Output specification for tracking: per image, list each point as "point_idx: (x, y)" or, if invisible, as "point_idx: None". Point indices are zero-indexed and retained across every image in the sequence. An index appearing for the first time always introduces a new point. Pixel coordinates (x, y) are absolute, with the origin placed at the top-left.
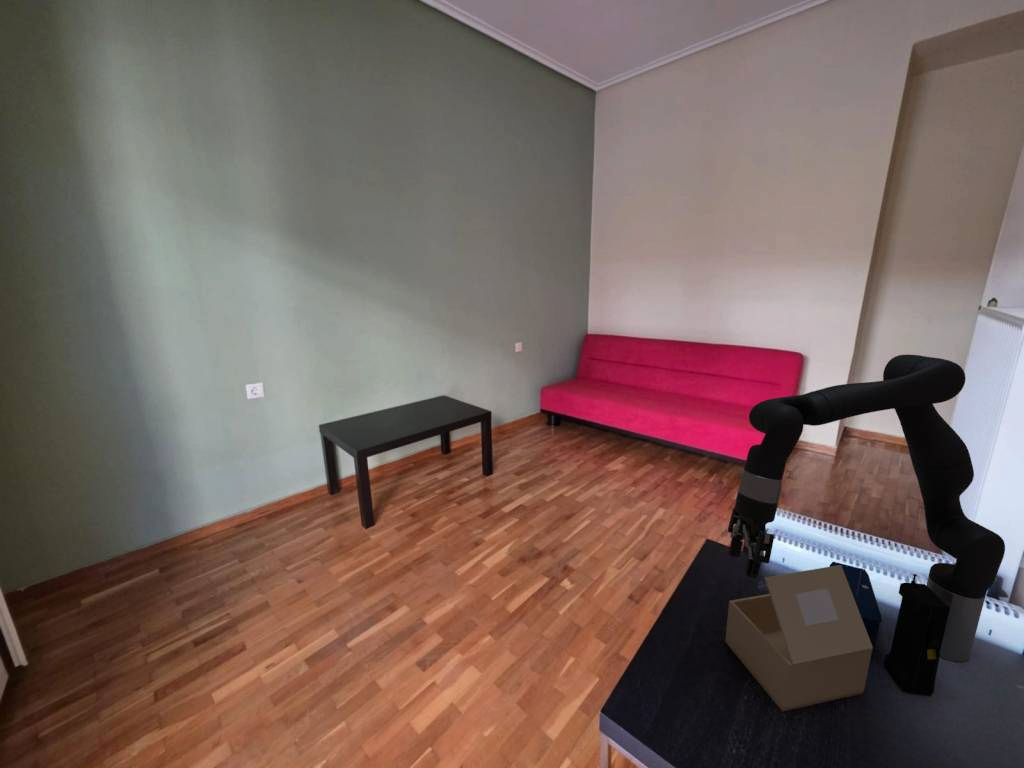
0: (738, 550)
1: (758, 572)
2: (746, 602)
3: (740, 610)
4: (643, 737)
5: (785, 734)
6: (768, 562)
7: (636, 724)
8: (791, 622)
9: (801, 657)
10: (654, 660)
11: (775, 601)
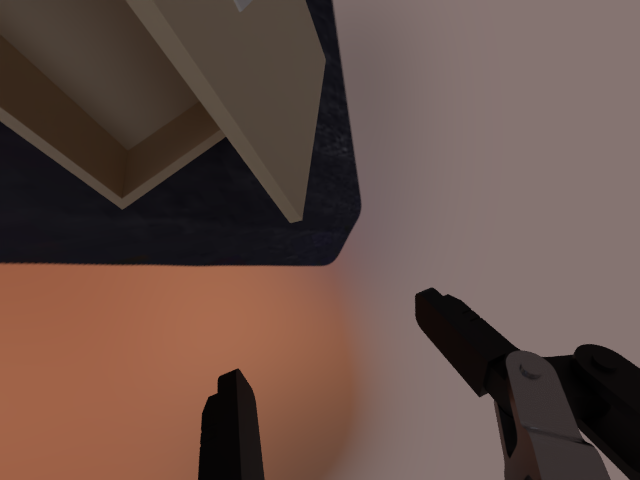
0: (243, 413)
1: (469, 308)
2: (67, 152)
3: (155, 177)
4: (347, 234)
5: None
6: (610, 351)
7: (337, 243)
8: (298, 57)
9: (313, 29)
10: (249, 253)
11: (307, 139)
